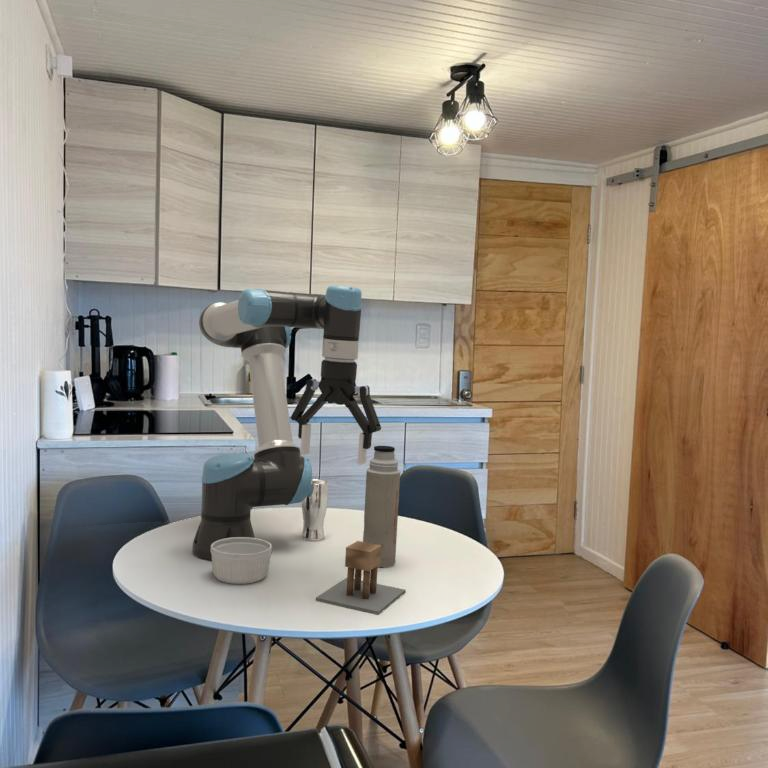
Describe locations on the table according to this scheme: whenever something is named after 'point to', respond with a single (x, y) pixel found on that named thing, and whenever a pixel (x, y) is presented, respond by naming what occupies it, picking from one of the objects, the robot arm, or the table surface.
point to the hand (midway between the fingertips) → (332, 458)
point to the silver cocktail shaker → (315, 510)
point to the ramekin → (240, 559)
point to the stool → (362, 567)
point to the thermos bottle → (382, 503)
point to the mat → (371, 605)
